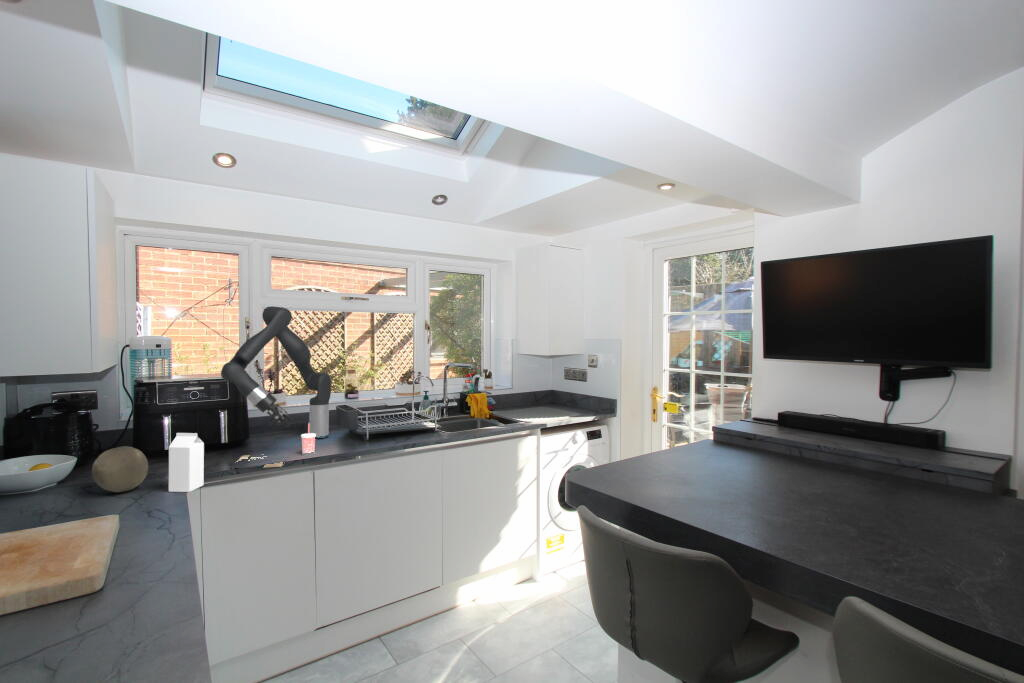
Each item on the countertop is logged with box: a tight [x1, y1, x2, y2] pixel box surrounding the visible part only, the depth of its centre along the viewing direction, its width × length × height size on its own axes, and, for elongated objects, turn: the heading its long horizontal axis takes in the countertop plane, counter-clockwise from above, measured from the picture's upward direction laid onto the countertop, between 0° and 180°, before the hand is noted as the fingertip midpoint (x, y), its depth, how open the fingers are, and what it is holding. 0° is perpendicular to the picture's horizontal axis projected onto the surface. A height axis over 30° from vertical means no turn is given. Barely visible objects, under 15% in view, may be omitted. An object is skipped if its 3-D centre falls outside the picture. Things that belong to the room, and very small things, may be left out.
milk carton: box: [168, 432, 205, 493], centre depth 161 cm, size 7×7×19 cm
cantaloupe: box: [91, 445, 149, 493], centre depth 156 cm, size 14×14×15 cm
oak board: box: [236, 454, 284, 468], centre depth 196 cm, size 18×18×1 cm
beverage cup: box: [300, 422, 316, 454], centre depth 208 cm, size 6×6×14 cm
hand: (290, 424), depth 206 cm, fingers open, 8 cm apart
